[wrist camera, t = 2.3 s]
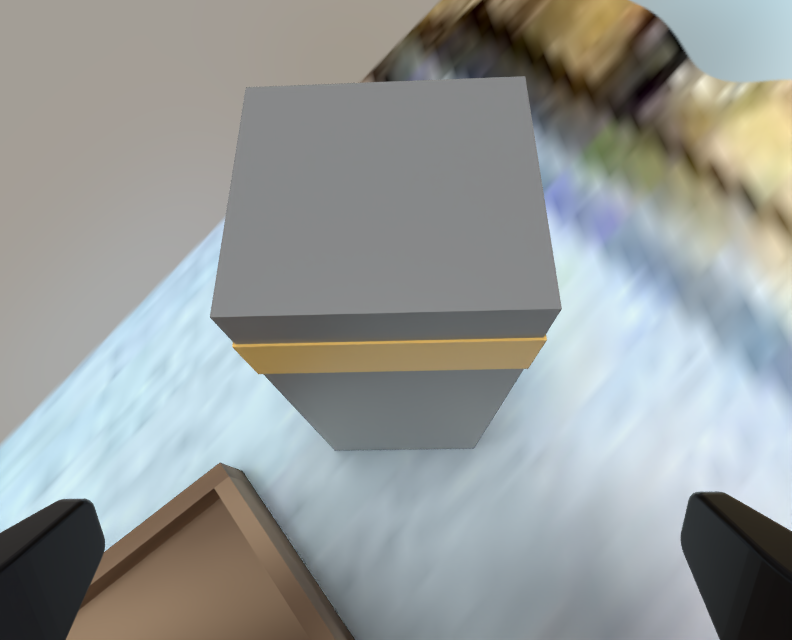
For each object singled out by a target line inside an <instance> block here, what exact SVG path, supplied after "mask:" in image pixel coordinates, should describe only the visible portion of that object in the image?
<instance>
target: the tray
mask: <svg viewBox="0 0 792 640" xmlns="http://www.w3.org/2000/svg"><path fill="white" fill-rule="evenodd" d="M66 640H355V639H354V638H353V636H352V635H351V633H350V632H349V630H348V629H347V627H346V626H345V624H344V623H343V621H342V620H341V618H340V617H339V615H338V614H337V612H336V611H335V609H334V608H333V606H332V605H331V603H330V602H329V600H328V599H327V597H326V596H325V594H324V593H323V591H322V590H321V588H320V587H319V585H318V584H317V582H316V581H315V579H314V578H313V576H312V575H311V573H310V572H309V570H308V569H307V567H306V566H305V564H304V563H303V561H302V560H301V558H300V557H299V555H298V554H297V552H296V551H295V549H294V548H293V546H292V545H291V543H290V542H289V540H288V539H287V537H286V536H285V534H284V533H283V531H282V530H281V528H280V527H279V525H278V524H277V522H276V521H275V519H274V518H273V516H272V515H271V513H270V512H269V510H268V509H267V507H266V506H265V504H264V503H263V501H262V500H261V498H260V497H259V495H258V494H257V492H256V491H255V489H254V488H253V486H252V485H251V483H250V482H249V480H248V479H247V477H246V476H245V474H244V473H243V471H241V470H238V469H236V468H233V467H230V466H228V465H225V464H222V463H219V464H217V465H216V466H215V467H214V468H212V469H211V470H210V471H208V472H207V473H206V474H204V475H203V476H202V477H201V478H199V479H198V480H197V481H195V482H194V483H193V484H192V485H190V486H189V487H188V488H186V489H185V490H184V491H183V492H181V493H180V494H179V495H177V496H176V497H175V498H174V499H172V500H171V501H170V502H168V503H167V504H166V505H164V506H163V507H162V508H161V509H159V510H158V511H157V512H155V513H154V514H153V515H152V516H150V517H149V518H148V519H146V520H145V521H144V522H143V523H141V524H140V525H139V526H137V527H136V528H135V529H134V530H132V531H131V532H130V533H128V534H127V535H126V536H124V537H123V538H122V539H121V540H119V541H118V542H117V543H115V544H114V545H113V546H112V547H110V548H109V549H108V550H106V551H105V552H104V554H103V557H102V559H101V562H100V564H99V566H98V568H97V571H96V573H95V575H94V577H93V580H92V582H91V584H90V586H89V589H88V591H87V593H86V595H85V598H84V600H83V602H82V604H81V607H80V609H79V611H78V613H77V616H76V618H75V620H74V622H73V625H72V627H71V629H70V631H69V634H68V636H67V638H66Z"/></svg>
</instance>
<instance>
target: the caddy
mask: <svg viewBox="0 0 792 640" xmlns="http://www.w3.org/2000/svg"><path fill="white" fill-rule="evenodd" d="M561 309H562V308H561V301H560V295H559V289H558V282H557V276H556V270H555V263H554V257H553V251H552V244H551V238H550V232H549V225H548V219H547V213H546V206H545V200H544V194H543V187H542V181H541V175H540V168H539V162H538V156H537V149H536V143H535V137H534V130H533V124H532V118H531V111H530V105H529V99H528V92H527V86H526V80H525V76H524V77H498V78H473V79H447V80H422V81H396V82H371V83H347V84H322V85H297V86H296V85H294V86H269V87H246V90H245V96H244V103H243V109H242V116H241V122H240V129H239V135H238V141H237V147H236V154H235V160H234V167H233V174H232V180H231V186H230V192H229V199H228V205H227V212H226V218H225V224H224V231H223V237H222V243H221V250H220V256H219V263H218V269H217V275H216V282H215V288H214V295H213V301H212V307H211V314H210V318H211V319H212V320H213V321H214V322H215V323H216V324H217V325H218V326H219V327H220V329H221V330H222V331H223V332H224V333H225V334H226V335H227V336H228V337H229V338H230V339H231V340H232V341H233V346H232V347H233V348H234V349H235V350H236V351H237V352H238V353H239V355H240V356H241V357H242V358H243V359H244V360H245V361H246V362H247V363H248V364H249V365H250V366H251V367H252V368H253V369H254V370H255V371H256V372H257V373H258V374H264V375H265V376H266V378H267V379H268V380H269V381H270V382H271V383H272V384H273V385H274V386H275V387H276V388H277V389H278V390H279V391H280V392H281V394H282V395H283V396H284V397H285V398H286V399H287V400H288V401H289V402H290V403H291V404H292V405H293V406H294V407H295V408H296V410H297V411H298V412H299V413H300V414H301V415H302V416H303V417H304V418H305V419H306V420H307V421H308V422H309V423H310V424H311V426H312V427H313V428H314V429H315V430H316V431H317V432H318V433H319V434H320V435H321V436H322V437H323V438H324V439H325V440H326V442H327V443H328V444H329V445H330V446H331V447H332V448H333V449H334V450H401V449H467V448H474V447H475V446H476V444H477V443H478V441H479V439H480V438H481V436H482V435H483V433H484V431H485V430H486V428H487V427H488V425H489V424H490V422H491V420H492V419H493V417H494V416H495V414H496V412H497V411H498V409H499V408H500V406H501V404H502V403H503V401H504V400H505V398H506V397H507V395H508V393H509V392H510V390H511V389H512V387H513V385H514V384H515V382H516V381H517V379H518V377H519V376H520V374H521V373H522V371H523V369H528V368H529V367H530V365H531V364H532V362H533V361H534V359H535V357H536V356H537V354H538V353H539V351H540V350H541V348H542V347H543V345H544V344H545V342H546V341H547V338H546V333H547V331H548V330H549V328H550V327H551V325H552V323H553V322H554V320H555V319H556V317H557V315H558V314H559V312H560V311H561Z"/></svg>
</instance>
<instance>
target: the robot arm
mask: <svg viewBox="0 0 792 640" xmlns="http://www.w3.org/2000/svg"><path fill="white" fill-rule="evenodd" d="M681 546H682V550H683V553H684V555H685V558H686V560H687V562H688V565H689V567H690V570H691V572H692V574H693V577H694V579H695V582H696V584H697V586H698V589H699V591H700V593H701V596H702V598H703V601H704V603H705V605H706V608H707V610H708V613H709V615H710V617H711V620H712V622H713V625H714V627H715V629H716V632H717V634H718V637H719V639H720V640H792V531H790V530H789V529H787V528H785V527H783V526H782V525H780V524H778V523H776V522H775V521H773V520H771V519H769V518H768V517H766V516H764V515H763V514H761V513H759V512H757V511H756V510H754V509H752V508H750V507H749V506H747V505H745V504H743V503H742V502H740V501H738V500H737V499H735V498H733V497H731V496H730V495H728V494H726V493H723V492H696V493H693V494H692V495H691V496H690V498H689V501H688V505H687V509H686V514H685V518H684V522H683V527H682V531H681ZM104 550H105V539H104V535H103V532H102V529H101V526H100V523H99V520H98V516H97V513H96V510H95V507H94V505H93V503H92V502H91V501H90V500H87V499H62V500H58V501H56V502H54V503H53V504H51V505H49V506H47V507H46V508H44V509H42V510H40V511H38V512H37V513H35V514H33V515H31V516H30V517H28V518H26V519H24V520H22V521H21V522H19V523H17V524H15V525H14V526H12V527H10V528H8V529H6V530H5V531H3V532H1V533H0V640H66V638H67V636H68V634H69V631H70V629H71V627H72V625H73V622H74V620H75V618H76V616H77V613H78V611H79V609H80V607H81V604H82V602H83V600H84V598H85V595H86V593H87V591H88V589H89V586H90V584H91V582H92V580H93V577H94V575H95V573H96V571H97V568H98V566H99V564H100V562H101V559H102V557H103V554H104Z"/></svg>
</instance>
